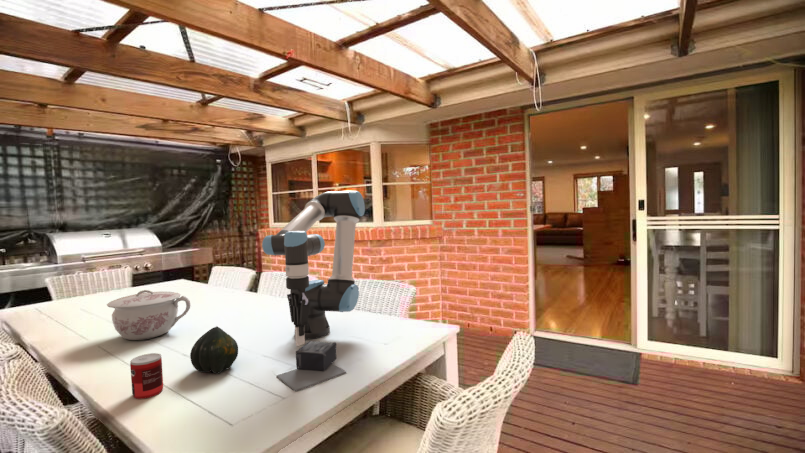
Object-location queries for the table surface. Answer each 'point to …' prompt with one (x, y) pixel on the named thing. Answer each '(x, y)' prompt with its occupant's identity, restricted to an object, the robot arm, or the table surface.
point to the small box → (316, 355)
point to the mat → (309, 377)
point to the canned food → (146, 375)
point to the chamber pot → (146, 314)
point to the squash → (214, 351)
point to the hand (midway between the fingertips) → (300, 344)
